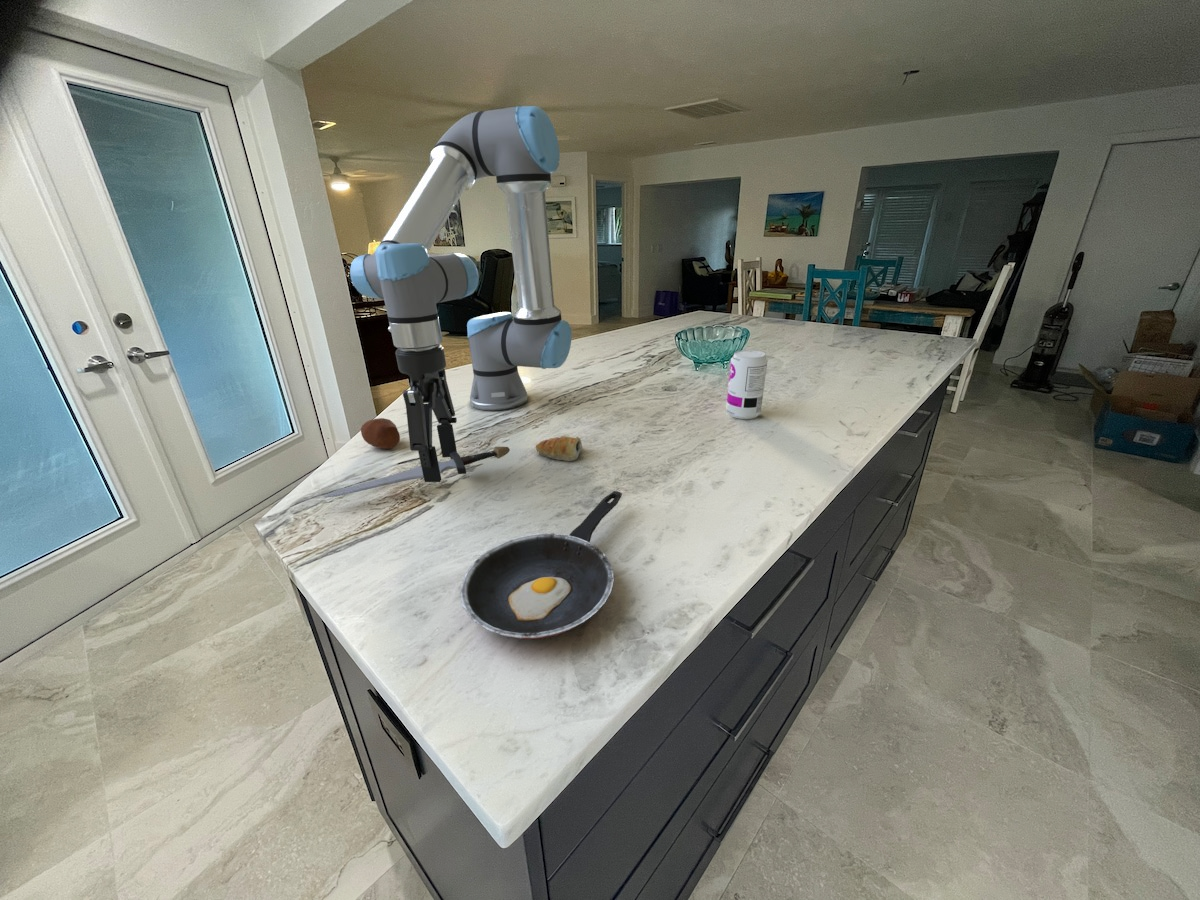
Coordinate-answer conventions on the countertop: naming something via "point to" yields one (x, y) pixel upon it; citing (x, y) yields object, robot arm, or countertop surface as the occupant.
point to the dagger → (417, 472)
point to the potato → (380, 433)
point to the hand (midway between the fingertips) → (442, 467)
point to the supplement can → (746, 384)
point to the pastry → (560, 448)
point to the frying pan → (540, 581)
